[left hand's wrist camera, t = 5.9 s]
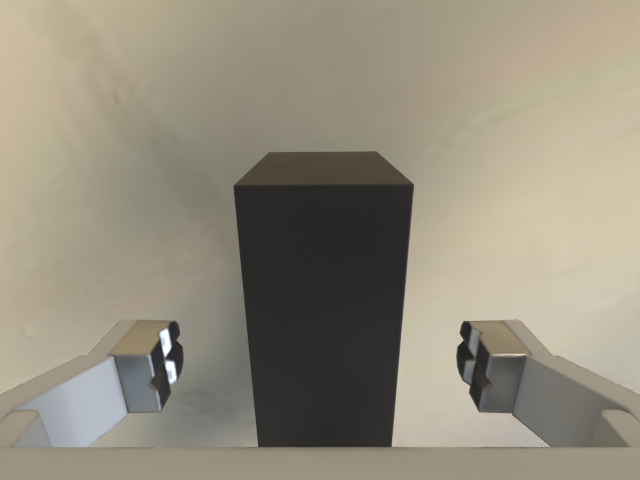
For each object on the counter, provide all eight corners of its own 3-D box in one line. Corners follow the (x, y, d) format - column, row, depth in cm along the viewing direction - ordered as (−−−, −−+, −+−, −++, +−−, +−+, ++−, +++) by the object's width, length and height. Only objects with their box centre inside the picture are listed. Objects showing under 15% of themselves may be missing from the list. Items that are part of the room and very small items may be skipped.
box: (268, 152, 20) (232, 185, 12) (376, 151, 20) (414, 184, 12) (286, 451, 28) (271, 591, 20) (362, 451, 28) (379, 591, 20)
